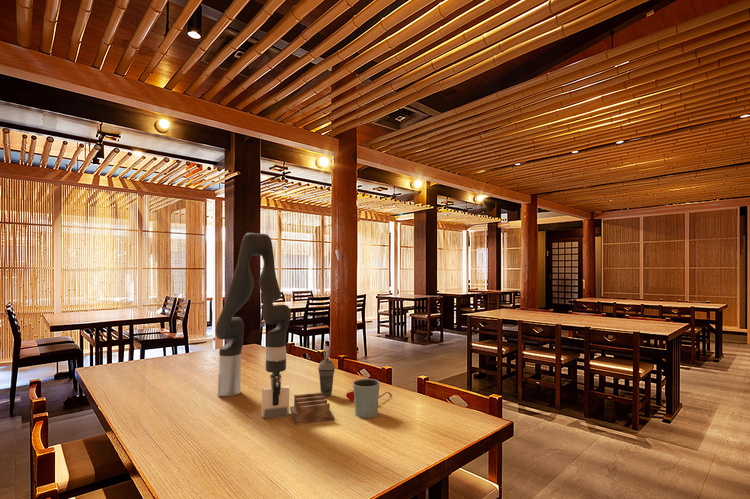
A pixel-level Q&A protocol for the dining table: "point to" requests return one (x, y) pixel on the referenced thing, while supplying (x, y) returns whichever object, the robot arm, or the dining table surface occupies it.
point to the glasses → (351, 396)
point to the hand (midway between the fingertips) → (275, 403)
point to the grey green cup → (366, 397)
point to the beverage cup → (326, 376)
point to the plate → (268, 399)
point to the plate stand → (275, 413)
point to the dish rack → (310, 408)
